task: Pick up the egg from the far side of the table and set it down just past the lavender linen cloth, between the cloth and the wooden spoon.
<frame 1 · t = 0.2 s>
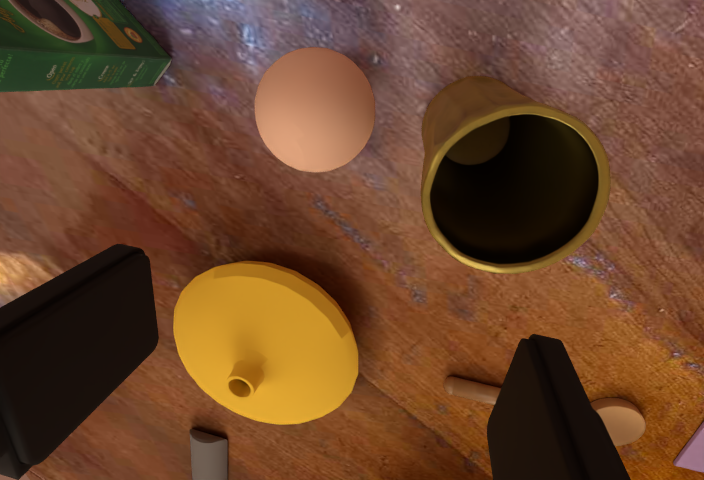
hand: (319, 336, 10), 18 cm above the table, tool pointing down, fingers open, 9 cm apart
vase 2: (277, 326, 34), on the table
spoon: (532, 398, 31), on the table
egg: (333, 106, 25), on the table
coffee box: (122, 25, 26), on the table
vase: (471, 128, 24), on the table
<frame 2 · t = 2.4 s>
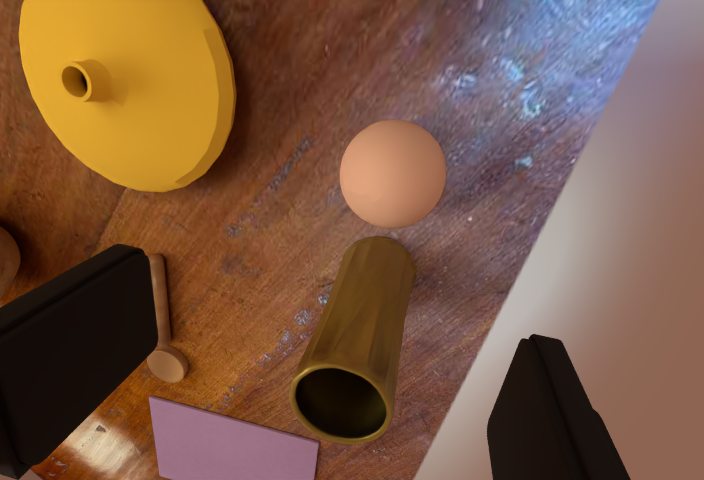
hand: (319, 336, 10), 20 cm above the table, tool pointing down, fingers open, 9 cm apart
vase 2: (156, 79, 29), on the table
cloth: (232, 459, 45), on the table
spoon: (165, 315, 38), on the table
egg: (398, 161, 28), on the table
vase: (378, 268, 32), on the table
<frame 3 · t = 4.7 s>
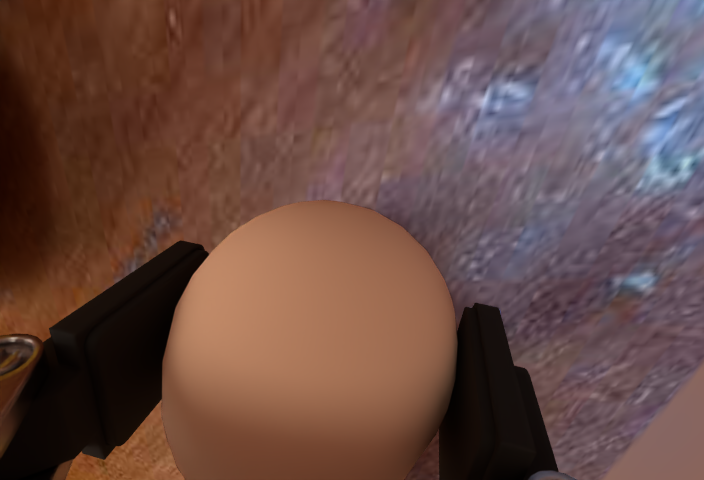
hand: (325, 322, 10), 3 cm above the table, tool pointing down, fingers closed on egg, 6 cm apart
egg: (351, 264, 13), on the table, touching gripper
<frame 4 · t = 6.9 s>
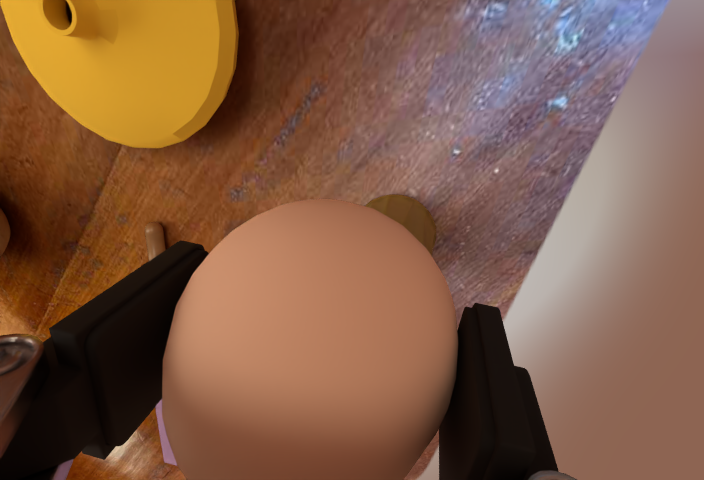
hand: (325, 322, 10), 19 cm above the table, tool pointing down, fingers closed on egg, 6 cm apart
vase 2: (149, 23, 26), on the table
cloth: (240, 442, 43), on the table
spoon: (166, 289, 36), on the table
egg: (351, 263, 13), point 16 cm above the table, touching gripper
vase: (395, 231, 29), on the table
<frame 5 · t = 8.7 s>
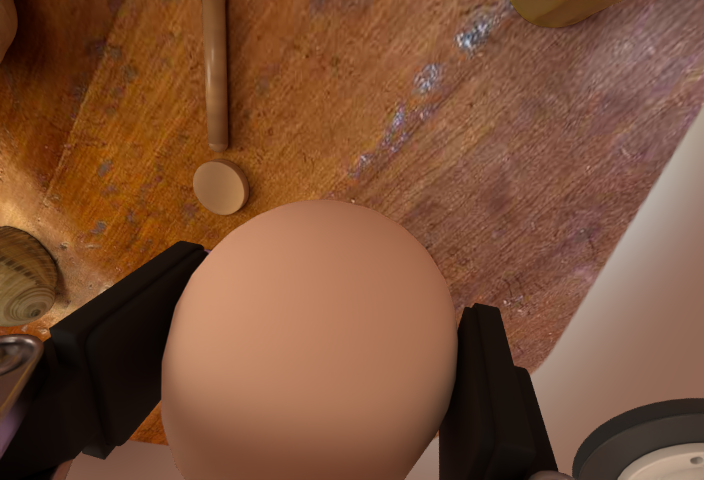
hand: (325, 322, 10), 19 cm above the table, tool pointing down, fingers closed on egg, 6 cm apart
seashell: (30, 265, 38), on the table
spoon: (222, 105, 27), on the table
egg: (351, 264, 13), point 15 cm above the table, touching gripper
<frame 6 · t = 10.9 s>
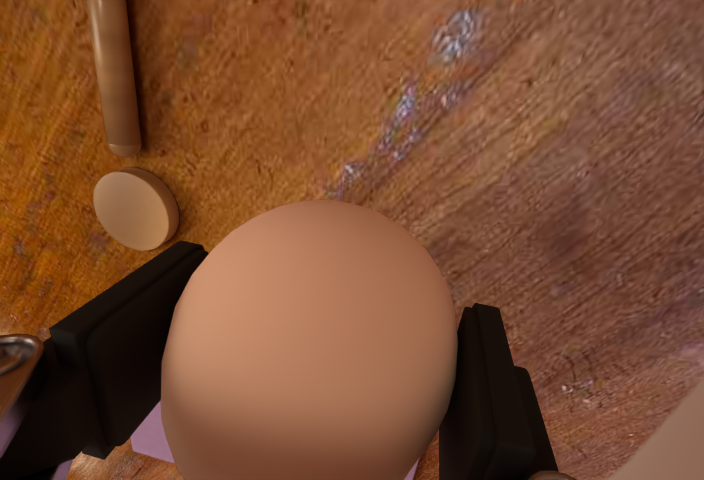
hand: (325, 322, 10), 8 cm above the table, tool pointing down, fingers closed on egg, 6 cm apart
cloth: (263, 416, 25), on the table
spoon: (128, 84, 17), on the table
egg: (351, 264, 13), point 5 cm above the table, touching gripper
when the fingers open (3 cm above the table, at t = 12.8 s): egg stays where it is, on the table.
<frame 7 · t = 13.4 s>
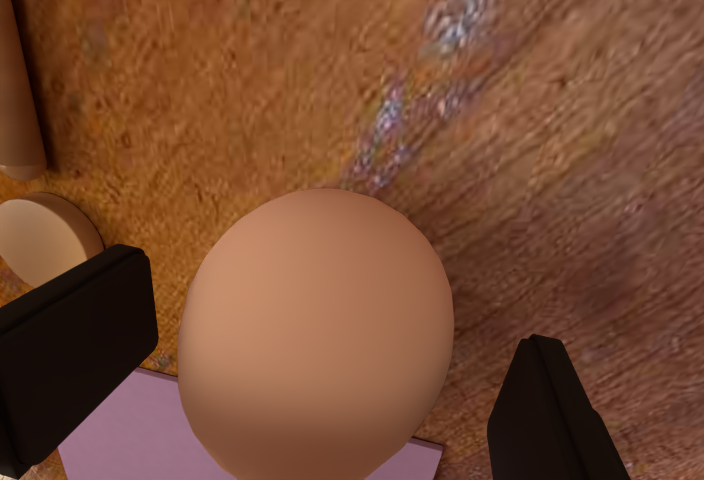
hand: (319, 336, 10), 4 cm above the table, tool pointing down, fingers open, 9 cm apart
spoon: (23, 84, 13), on the table
egg: (352, 253, 14), on the table
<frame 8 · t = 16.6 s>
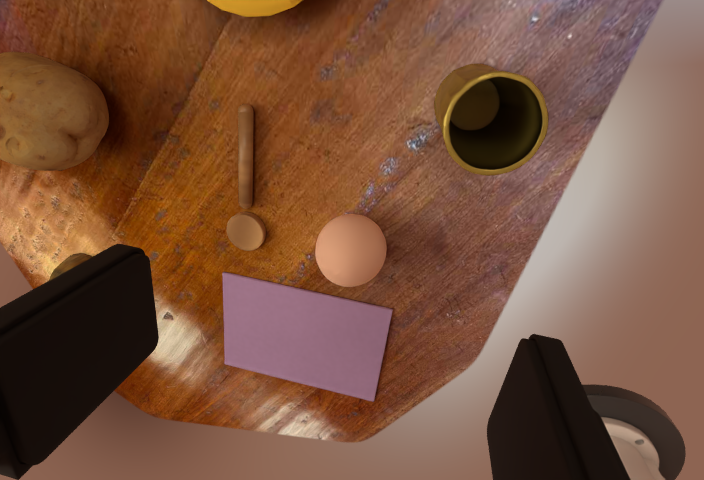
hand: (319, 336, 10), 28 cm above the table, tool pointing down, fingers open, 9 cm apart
seashell: (96, 282, 50), on the table
potato: (79, 107, 40), on the table
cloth: (301, 338, 47), on the table
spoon: (248, 176, 39), on the table
egg: (358, 233, 40), on the table
vase: (471, 103, 33), on the table
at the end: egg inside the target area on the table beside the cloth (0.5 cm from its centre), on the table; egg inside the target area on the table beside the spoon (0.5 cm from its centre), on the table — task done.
